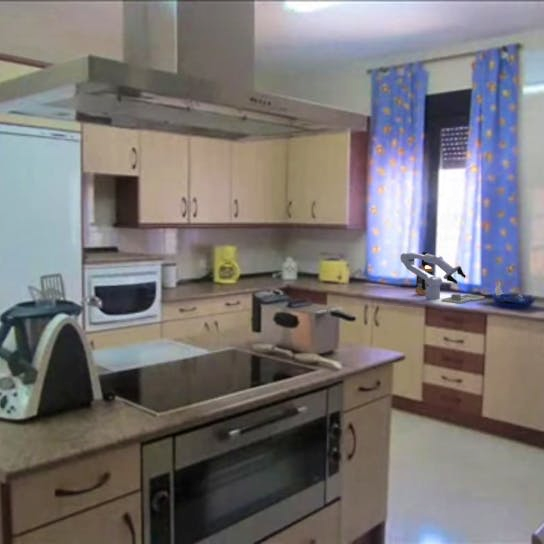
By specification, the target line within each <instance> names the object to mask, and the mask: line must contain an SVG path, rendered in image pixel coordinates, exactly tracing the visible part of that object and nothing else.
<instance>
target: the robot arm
mask: <svg viewBox="0 0 544 544" xmlns="http://www.w3.org/2000/svg"><path fill="white" fill-rule="evenodd" d="M415 259H417V260H422V259H423V260H424V261H425V262H428V264H429V263H430V264H433V265H434V266H435V265H436V266H437V267H438V268H440V269H441V270H442V271H443V272H444V273H446V274H445V275H443V277H442V278H443V279H444V280H446V281H447V282H452V283H454V284H456V285H457V284H458V281H457V279H455V278H454V276H452V275H454V274H455V273H456V272H457V274H458V275H459V276H461V277H462V278H464V279H465V278H466V277H467V276H466V274H465V272H464V271H463V269H462V267H461V266H460V265H457V266H455V267H453V266H451V265H450V264H449V263H448V262H447V261H445V260H444V258H443V257H442V256H441V255H436V254H431V253H428V252H427V254H425V255H422V253H416V252H405V253H401V255H400V262H401V263H403V265H404V267H405V268H406V269H407V270H408V271H410V272H411V273H413V274H415V275H416V276H417V275H418V276H419V277H421V278H422V279H424V280H426V283H427V284H428V285H429V286H428V287H427V288H426V295H425V298H424V300H428V299H431V300H436V299H437V300H438V299H440V298H441V297H440V296H441V285H442V284H443V279H442V278H441V277H440V276H435V275H433V274H432V275H430V274H428V273H427V272H425V271H424V270H422V269H420V268H419V266H417V265H416V264H415ZM426 298H428V299H426Z"/></svg>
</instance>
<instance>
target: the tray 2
mask: <svg viewBox="0 0 544 544" xmlns="http://www.w3.org/2000/svg"><path fill="white" fill-rule="evenodd" d="M461 298H469V299H470V301H469V302H478V301H481V300H485V295H484V296H481V295H474V294H473V295H472V294H463V295H461Z"/></svg>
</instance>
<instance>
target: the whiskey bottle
mask: <svg viewBox="0 0 544 544" xmlns="http://www.w3.org/2000/svg"><path fill="white" fill-rule="evenodd" d="M425 254H428V251H422V253H421V255H425ZM428 264H429V262H425V261H424V260H423V259H421V265H419V266H418V267H419V268H420V269H422V270H424V271H425V272H427V273H428V274H430V275H433V271H434V267H431V266H430V265H428ZM428 286H429V285H428V284H427V283H426V280H424V279H422V278H421V277H419V276H418V275H416V286H415V290H414V291H415V292H414V293H417V294H416V295H419V294H421V295H420V296H426V288H427V287H428Z"/></svg>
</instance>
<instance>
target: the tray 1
mask: <svg viewBox="0 0 544 544" xmlns="http://www.w3.org/2000/svg"><path fill="white" fill-rule="evenodd" d="M441 302H443V303H453V304H463V303H464V304H465V303H468V302H471V301H470V299H469V298H461V301H456V300H451V296H450V297H445V298H442V299H441Z"/></svg>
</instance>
